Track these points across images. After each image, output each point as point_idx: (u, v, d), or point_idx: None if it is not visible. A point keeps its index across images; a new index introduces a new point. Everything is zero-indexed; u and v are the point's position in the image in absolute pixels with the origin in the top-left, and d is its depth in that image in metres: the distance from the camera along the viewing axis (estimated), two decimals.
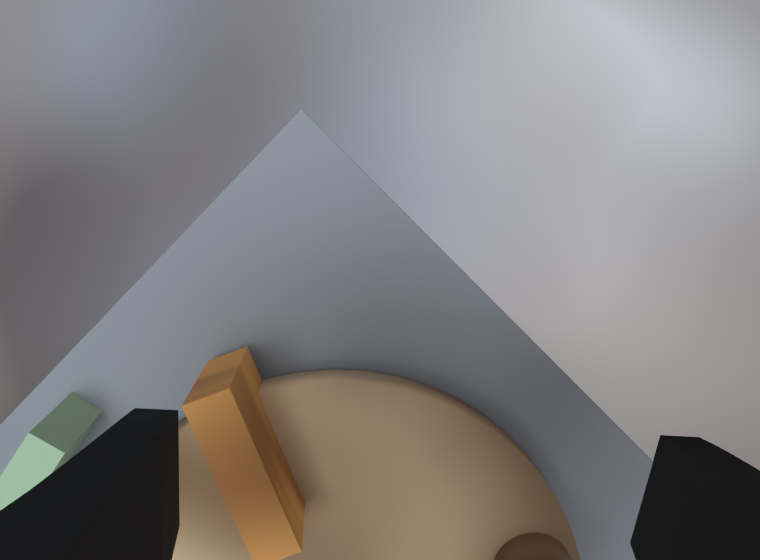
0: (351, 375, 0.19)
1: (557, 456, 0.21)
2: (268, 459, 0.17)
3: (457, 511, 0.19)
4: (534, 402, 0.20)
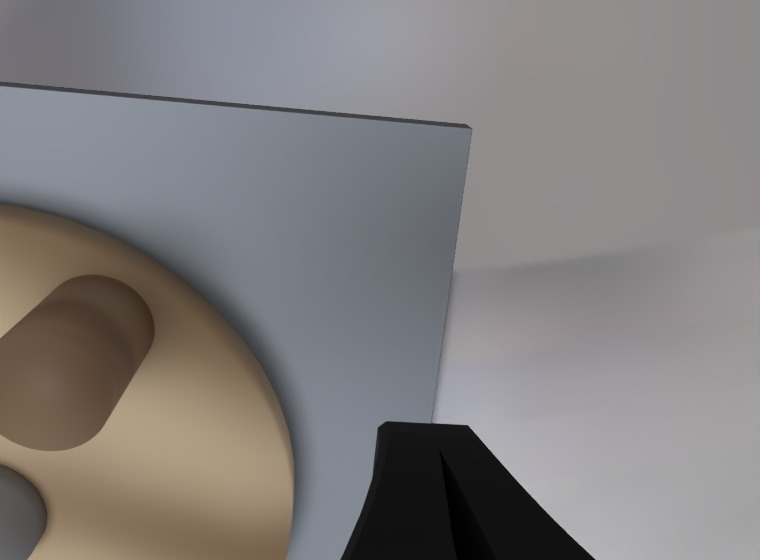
0: None
1: (62, 181, 0.15)
2: None
3: None
4: None
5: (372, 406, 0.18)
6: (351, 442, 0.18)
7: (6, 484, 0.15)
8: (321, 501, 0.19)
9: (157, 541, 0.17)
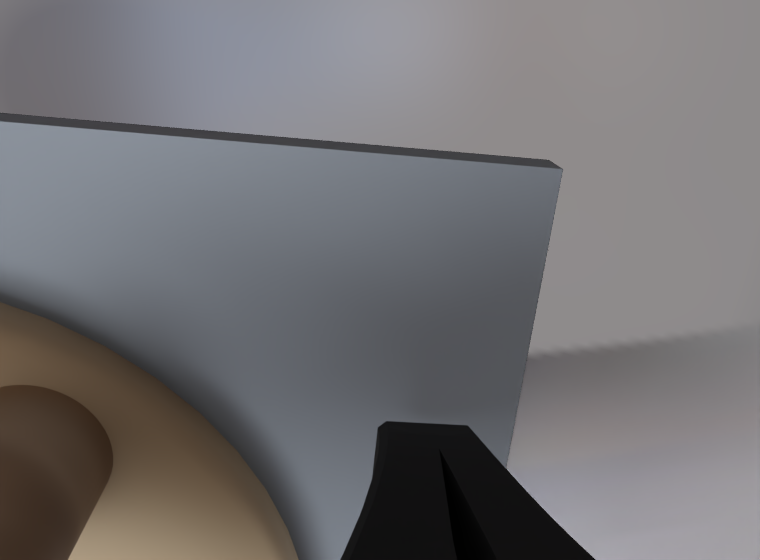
0: None
1: None
2: None
3: None
4: None
5: None
6: None
7: None
8: None
9: None
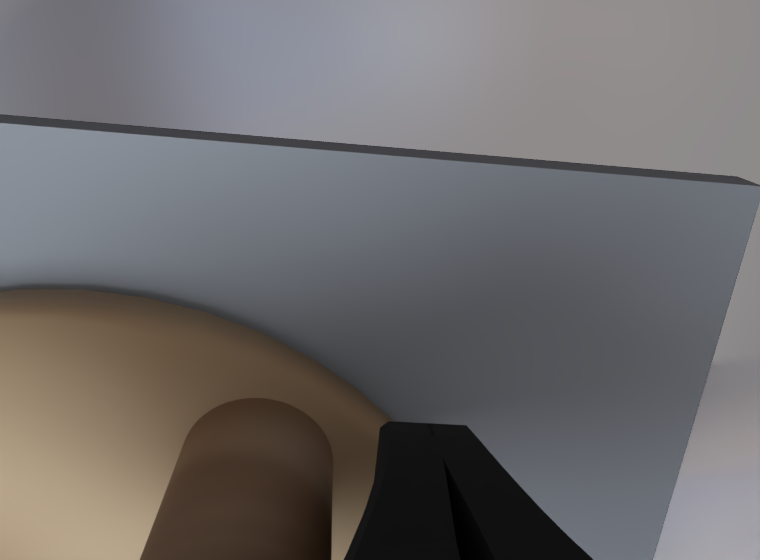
0: None
1: (201, 261, 0.11)
2: None
3: (64, 465, 0.10)
4: (83, 211, 0.11)
5: (581, 539, 0.13)
6: None
7: None
8: None
9: None
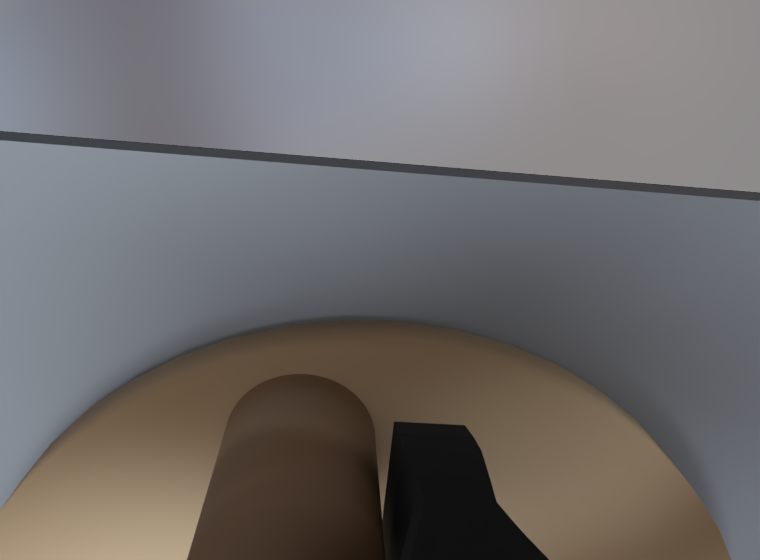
0: None
1: (497, 293, 0.12)
2: None
3: (172, 544, 0.11)
4: (395, 247, 0.11)
5: None
6: None
7: None
8: None
9: None
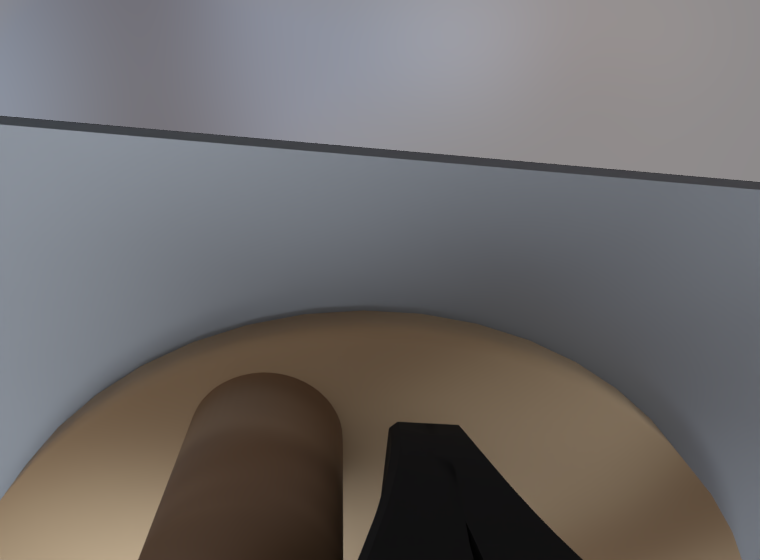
0: None
1: (505, 284, 0.11)
2: None
3: None
4: (402, 236, 0.11)
5: None
6: None
7: None
8: None
9: None
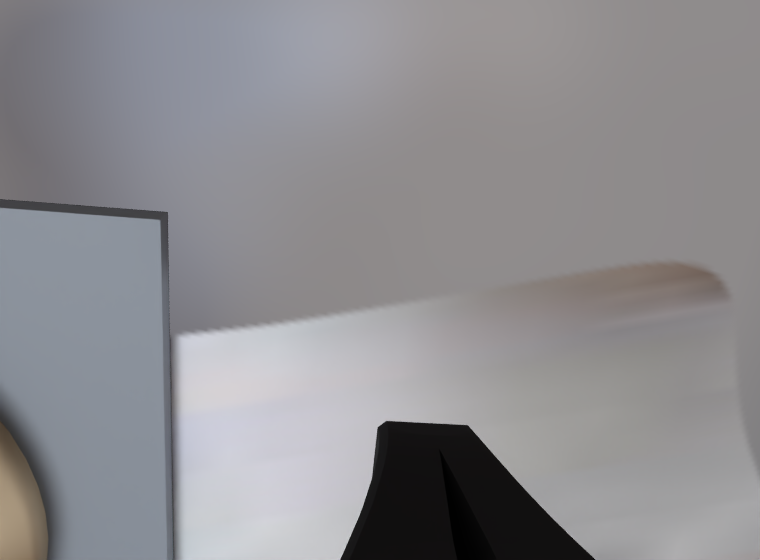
0: None
1: None
2: None
3: None
4: None
5: (110, 452, 0.20)
6: (96, 483, 0.20)
7: None
8: (77, 534, 0.21)
9: None
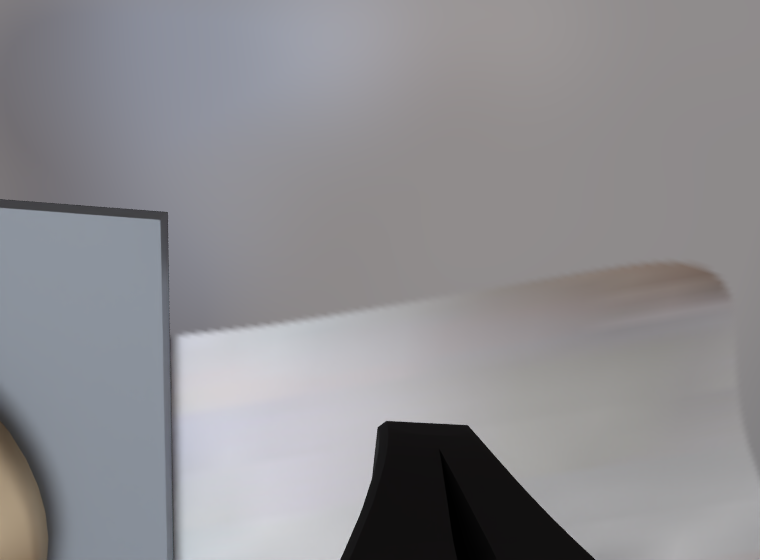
0: None
1: None
2: None
3: None
4: None
5: (110, 452, 0.20)
6: (96, 483, 0.20)
7: None
8: (77, 534, 0.21)
9: None
